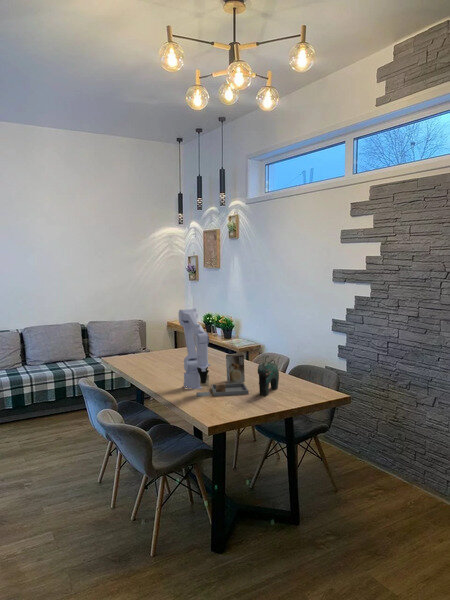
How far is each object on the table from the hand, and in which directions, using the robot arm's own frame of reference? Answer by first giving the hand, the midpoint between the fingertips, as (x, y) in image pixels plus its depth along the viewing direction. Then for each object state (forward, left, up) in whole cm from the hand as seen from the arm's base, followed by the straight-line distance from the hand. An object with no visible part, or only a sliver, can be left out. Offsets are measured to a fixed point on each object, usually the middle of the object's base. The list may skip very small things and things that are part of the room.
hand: (203, 382), depth 230 cm
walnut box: (+9, 0, -6) cm, 11 cm away
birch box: (+1, 0, -2) cm, 2 cm away
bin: (+14, +3, -7) cm, 16 cm away
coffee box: (+20, +22, -7) cm, 31 cm away
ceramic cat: (+34, -2, -7) cm, 35 cm away
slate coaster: (0, 0, -7) cm, 7 cm away
